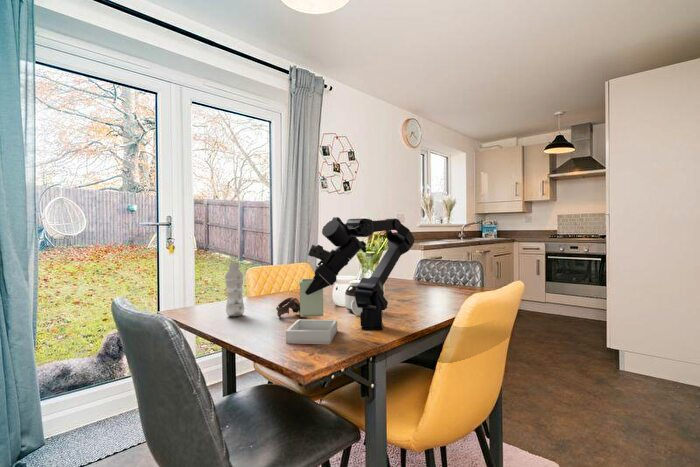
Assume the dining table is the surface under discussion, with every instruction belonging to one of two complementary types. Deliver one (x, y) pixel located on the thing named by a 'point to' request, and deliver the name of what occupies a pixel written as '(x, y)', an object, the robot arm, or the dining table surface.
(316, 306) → the green crate
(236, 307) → the plastic bottle
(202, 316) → the dining table surface
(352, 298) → the spread jar
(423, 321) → the dining table surface
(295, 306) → the pottery mug
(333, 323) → the grey crate
